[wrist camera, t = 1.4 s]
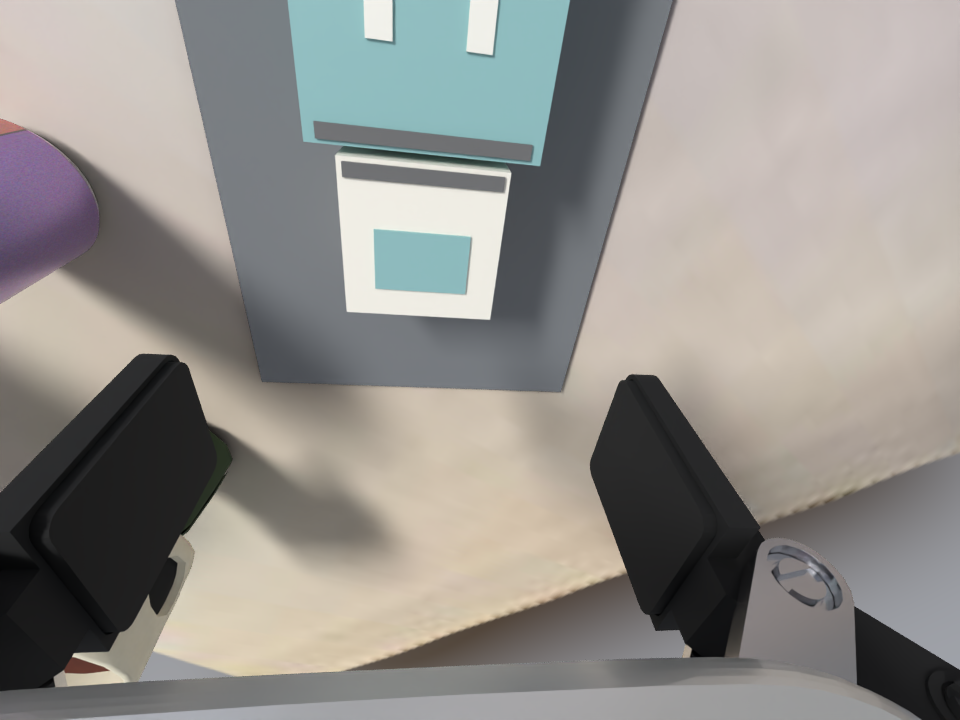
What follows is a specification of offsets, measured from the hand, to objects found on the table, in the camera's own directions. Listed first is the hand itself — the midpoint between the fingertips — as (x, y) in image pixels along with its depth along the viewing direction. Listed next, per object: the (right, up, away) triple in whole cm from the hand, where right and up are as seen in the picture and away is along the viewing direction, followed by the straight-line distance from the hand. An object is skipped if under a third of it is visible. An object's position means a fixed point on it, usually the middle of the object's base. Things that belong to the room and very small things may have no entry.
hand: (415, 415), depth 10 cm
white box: (-1, +8, +10) cm, 13 cm away
